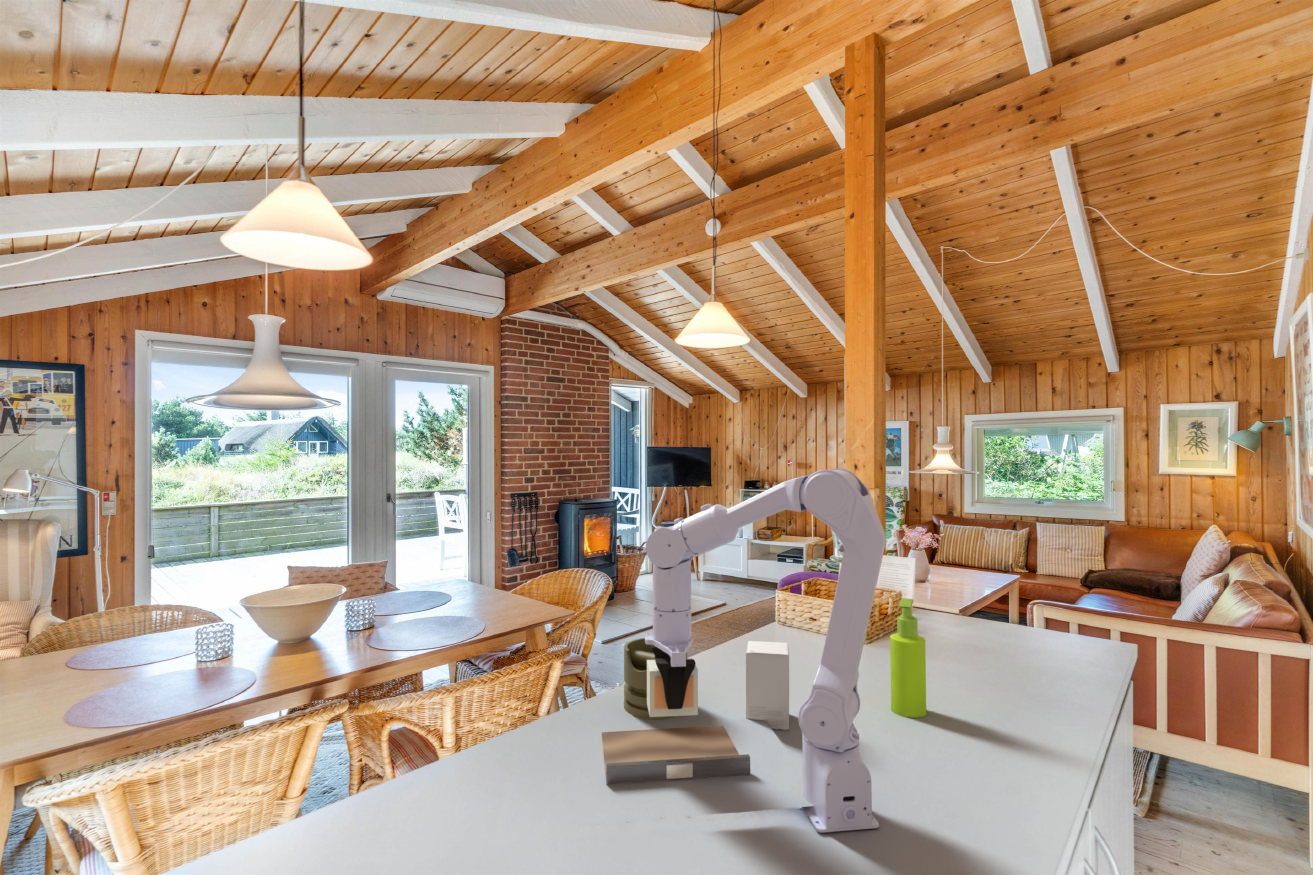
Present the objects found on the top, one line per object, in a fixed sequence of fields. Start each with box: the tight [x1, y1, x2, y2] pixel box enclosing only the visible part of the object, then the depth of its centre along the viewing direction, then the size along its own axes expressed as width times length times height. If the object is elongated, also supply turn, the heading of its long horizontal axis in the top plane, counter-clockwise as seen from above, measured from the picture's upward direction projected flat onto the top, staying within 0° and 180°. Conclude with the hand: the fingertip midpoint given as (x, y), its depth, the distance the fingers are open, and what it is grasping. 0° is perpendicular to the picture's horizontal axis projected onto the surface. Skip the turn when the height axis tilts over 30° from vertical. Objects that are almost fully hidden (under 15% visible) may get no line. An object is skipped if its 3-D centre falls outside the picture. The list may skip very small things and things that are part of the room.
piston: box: [623, 637, 688, 720], centre depth 111 cm, size 11×12×11 cm
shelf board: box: [601, 724, 744, 786], centre depth 93 cm, size 16×20×2 cm
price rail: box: [605, 754, 751, 785], centre depth 85 cm, size 1×20×2 cm, turn 97°
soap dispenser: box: [889, 597, 927, 719], centre depth 111 cm, size 6×7×20 cm
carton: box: [647, 658, 699, 717], centre depth 92 cm, size 5×7×6 cm
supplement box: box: [745, 640, 790, 731], centre depth 108 cm, size 7×7×13 cm
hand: (672, 699), depth 92 cm, fingers closed on carton, 5 cm apart
